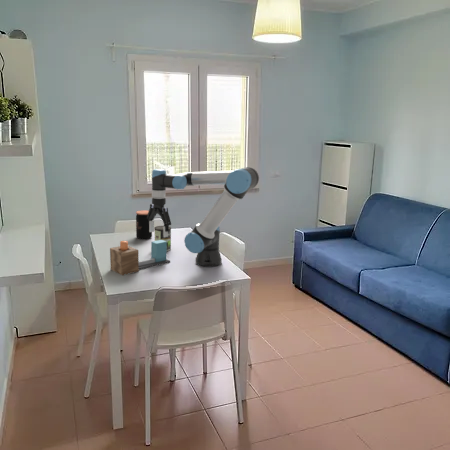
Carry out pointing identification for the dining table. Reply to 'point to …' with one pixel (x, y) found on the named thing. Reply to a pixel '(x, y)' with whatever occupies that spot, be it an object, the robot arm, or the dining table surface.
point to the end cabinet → (124, 260)
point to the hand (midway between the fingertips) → (158, 234)
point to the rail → (151, 263)
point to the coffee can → (160, 236)
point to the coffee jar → (142, 225)
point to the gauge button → (123, 245)
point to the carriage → (159, 250)
